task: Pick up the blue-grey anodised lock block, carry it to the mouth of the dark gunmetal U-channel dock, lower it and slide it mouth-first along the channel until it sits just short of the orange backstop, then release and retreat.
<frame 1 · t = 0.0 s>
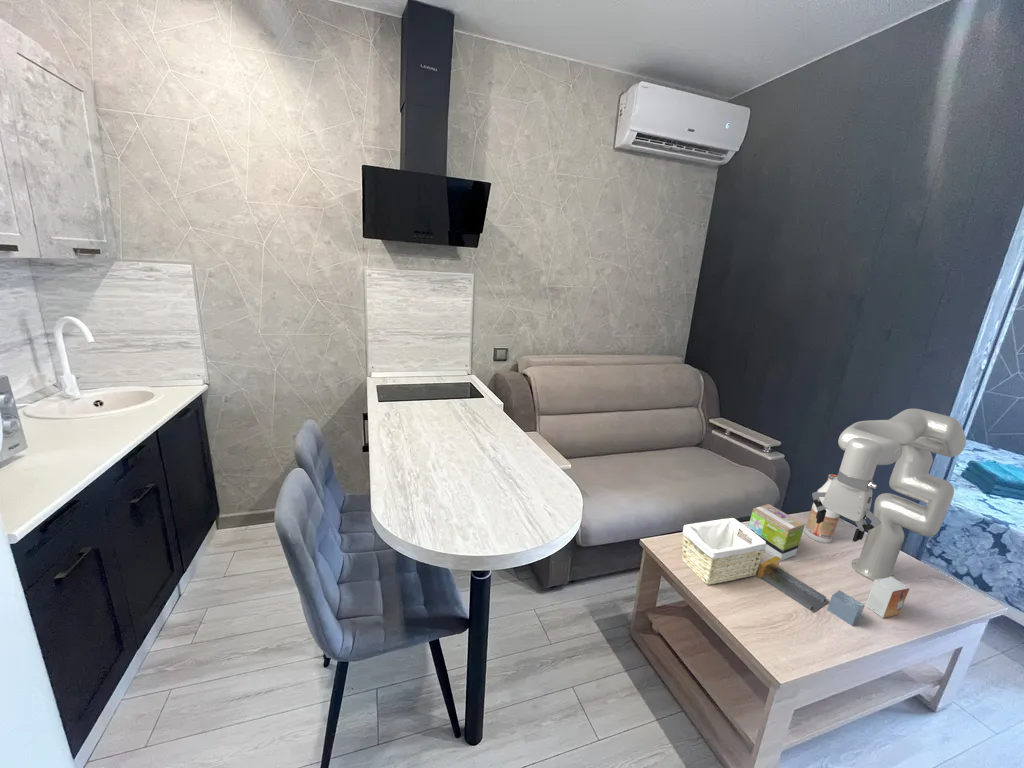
hand: (837, 530, 126), 31 cm above the table, fingers open, 9 cm apart
storage basket: (716, 568, 154), on the table
dock: (792, 588, 146), on the table
tea box: (769, 547, 168), on the table
fruit juice: (817, 537, 177), on the table
lock block: (843, 615, 135), on the table
small box: (881, 610, 139), on the table
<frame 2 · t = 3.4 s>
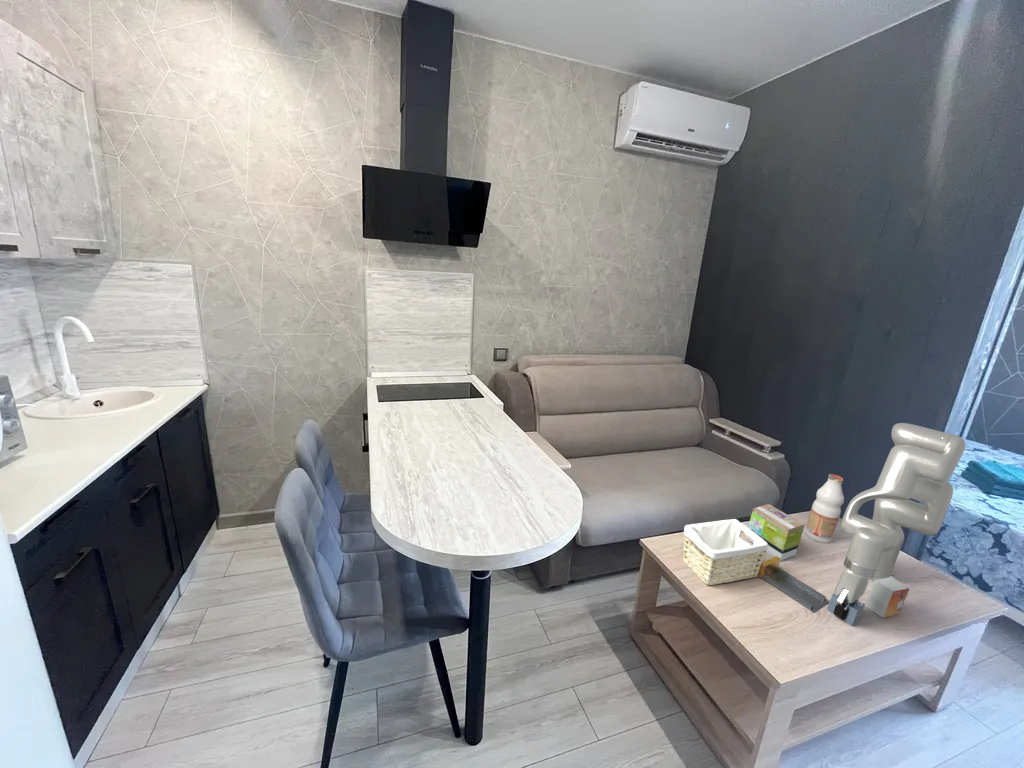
hand: (843, 613, 135), 1 cm above the table, fingers closed on lock block, 5 cm apart
lock block: (842, 615, 136), on the table, touching gripper
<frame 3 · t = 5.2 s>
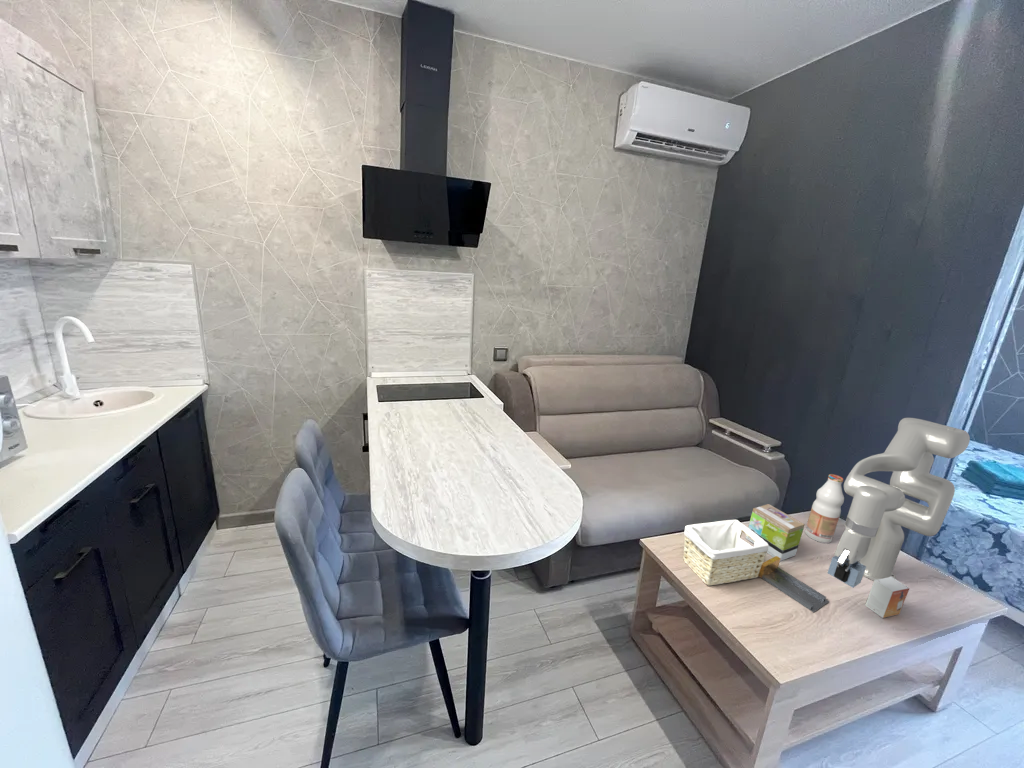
hand: (844, 575, 132), 15 cm above the table, fingers closed on lock block, 5 cm apart
lock block: (843, 577, 132), point 14 cm above the table, touching gripper
everything else where it was.
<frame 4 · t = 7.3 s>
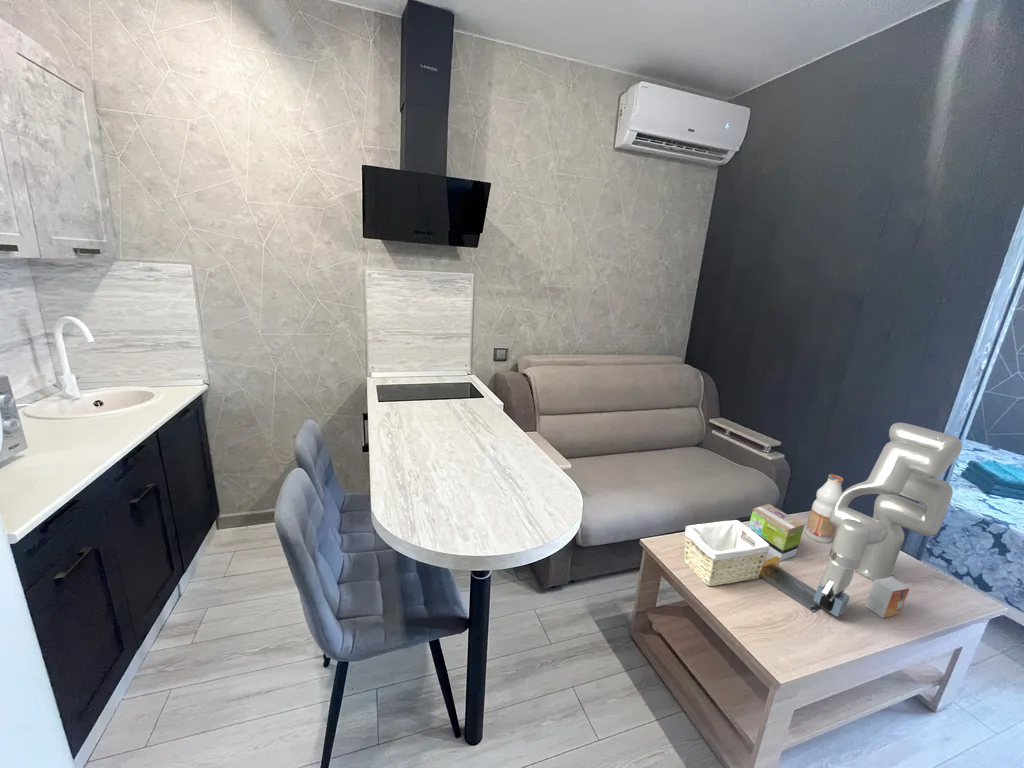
hand: (829, 604, 136), 2 cm above the table, fingers closed on lock block, 5 cm apart
lock block: (828, 606, 136), point 2 cm above the table, touching gripper
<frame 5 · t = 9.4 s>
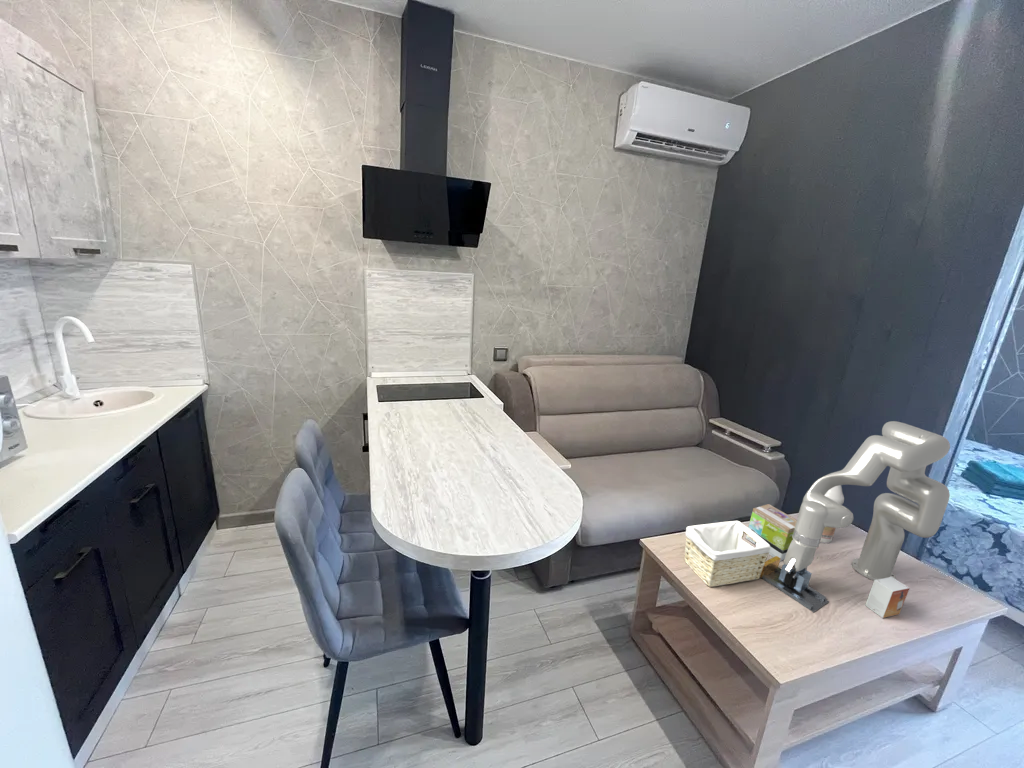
hand: (793, 581, 145), 3 cm above the table, fingers closed on lock block, 5 cm apart
lock block: (792, 583, 146), point 2 cm above the table, touching gripper
when the fingers open (2 cm above the table, at t = 11.4 s): lock block drops 1 cm, resting on dock.
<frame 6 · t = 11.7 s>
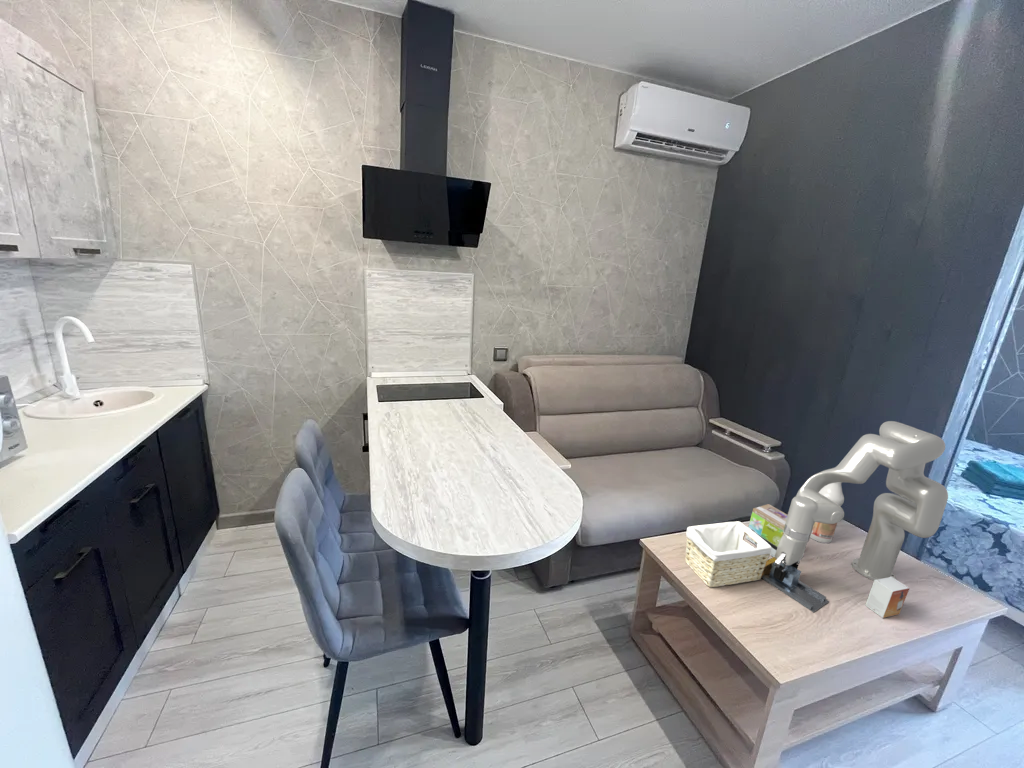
hand: (784, 575, 148), 3 cm above the table, fingers open, 7 cm apart
lock block: (782, 581, 148), resting on dock
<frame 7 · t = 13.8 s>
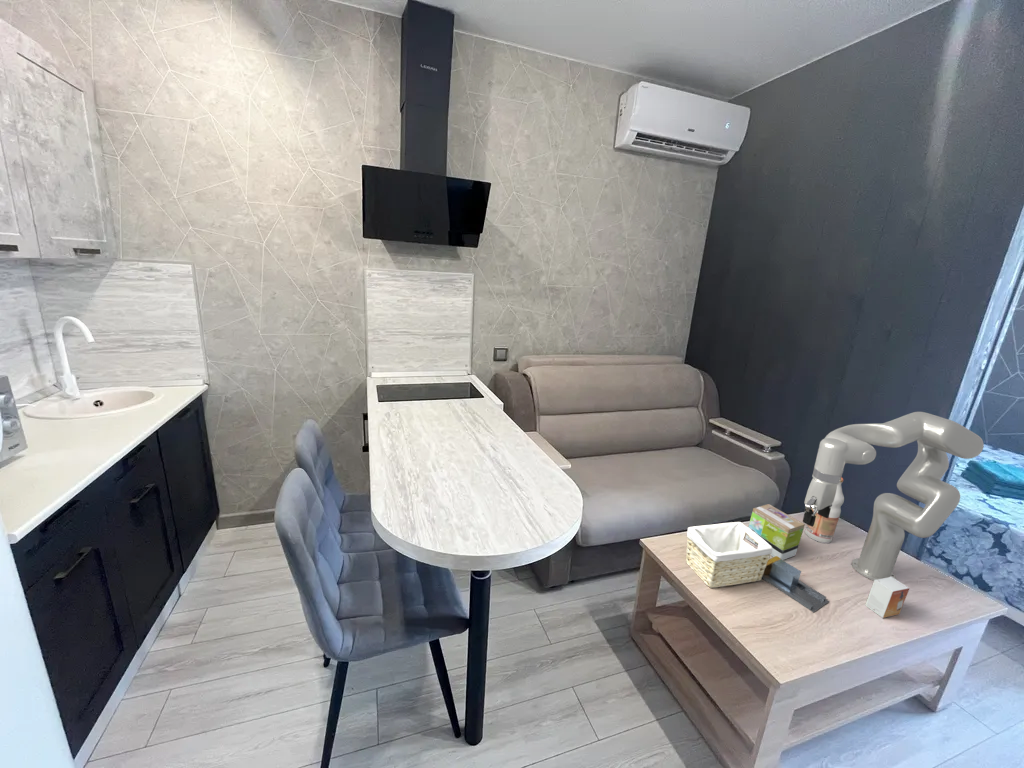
hand: (815, 520, 144), 24 cm above the table, fingers open, 9 cm apart
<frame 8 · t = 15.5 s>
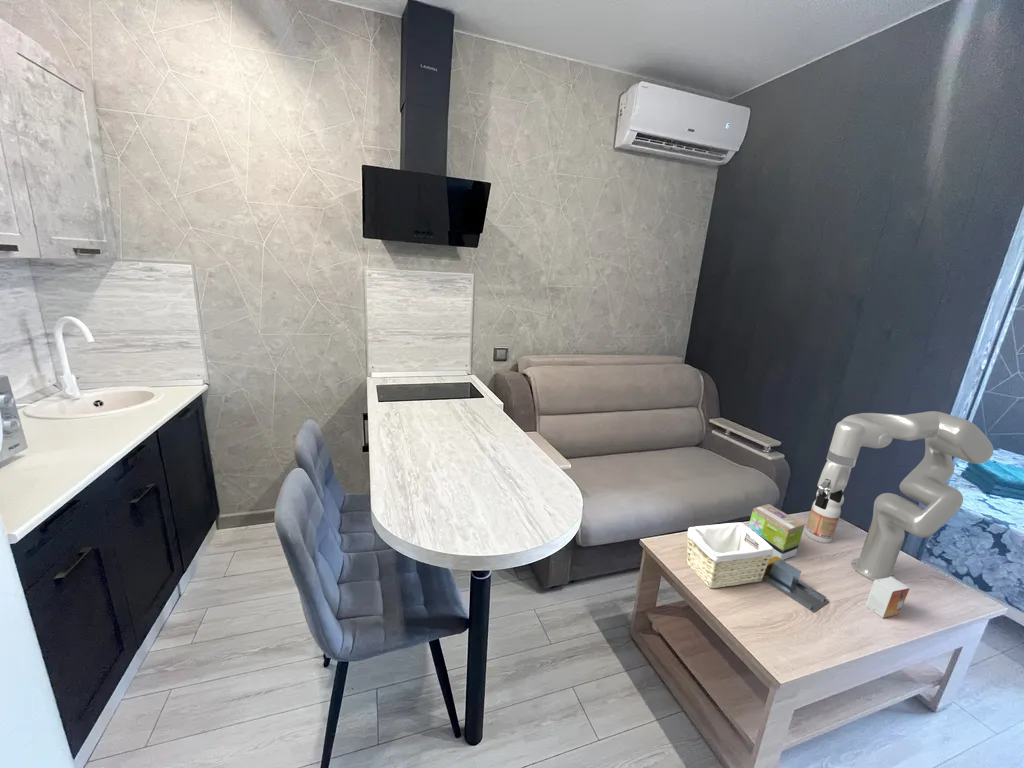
hand: (827, 504, 143), 30 cm above the table, fingers open, 9 cm apart
at the end: lock block inside the target area on the dock (0.4 cm from its centre), point 0.3 cm above the dock's base; lock block tilted 0°; the gripper is holding nothing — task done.
